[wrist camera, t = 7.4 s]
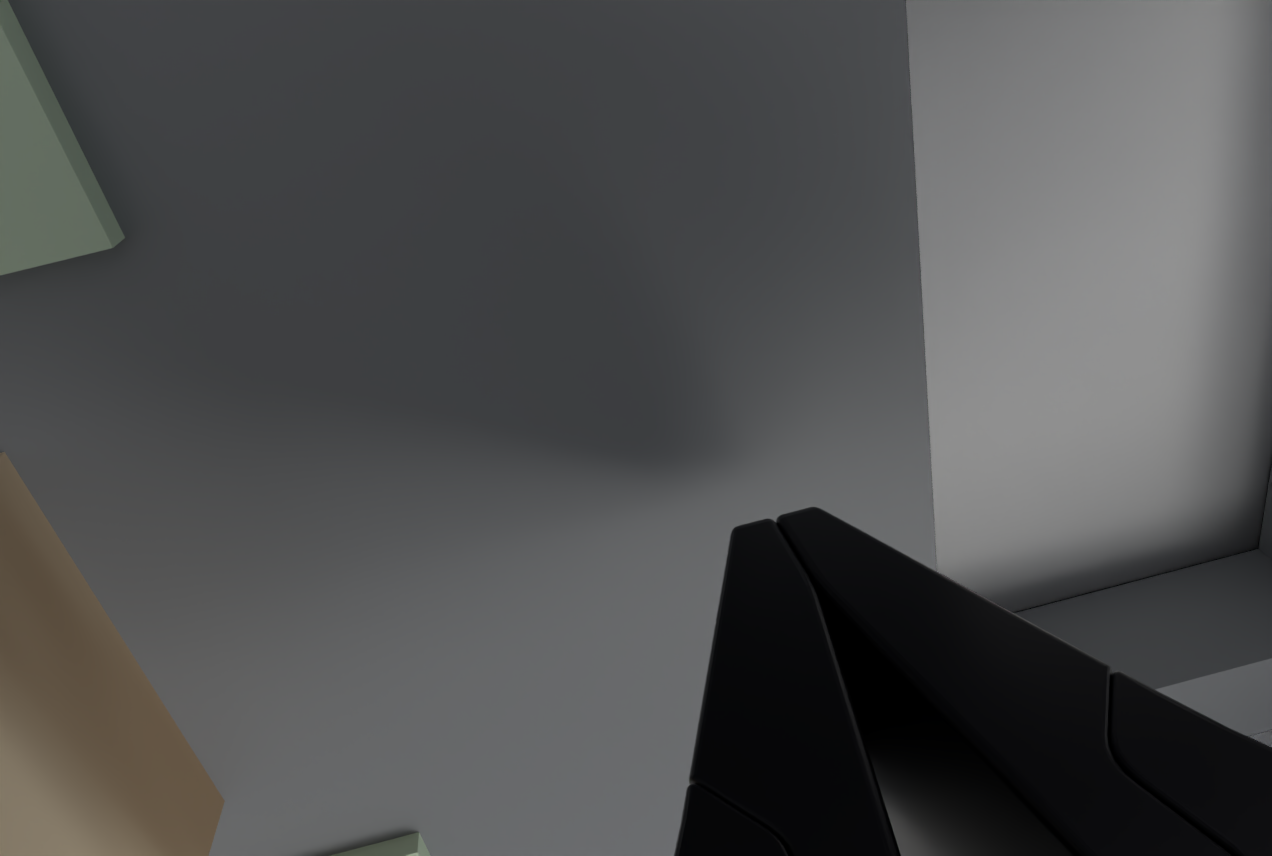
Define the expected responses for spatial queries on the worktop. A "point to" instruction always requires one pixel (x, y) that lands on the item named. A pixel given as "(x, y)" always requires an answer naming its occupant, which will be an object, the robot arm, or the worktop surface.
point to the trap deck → (481, 387)
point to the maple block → (82, 715)
